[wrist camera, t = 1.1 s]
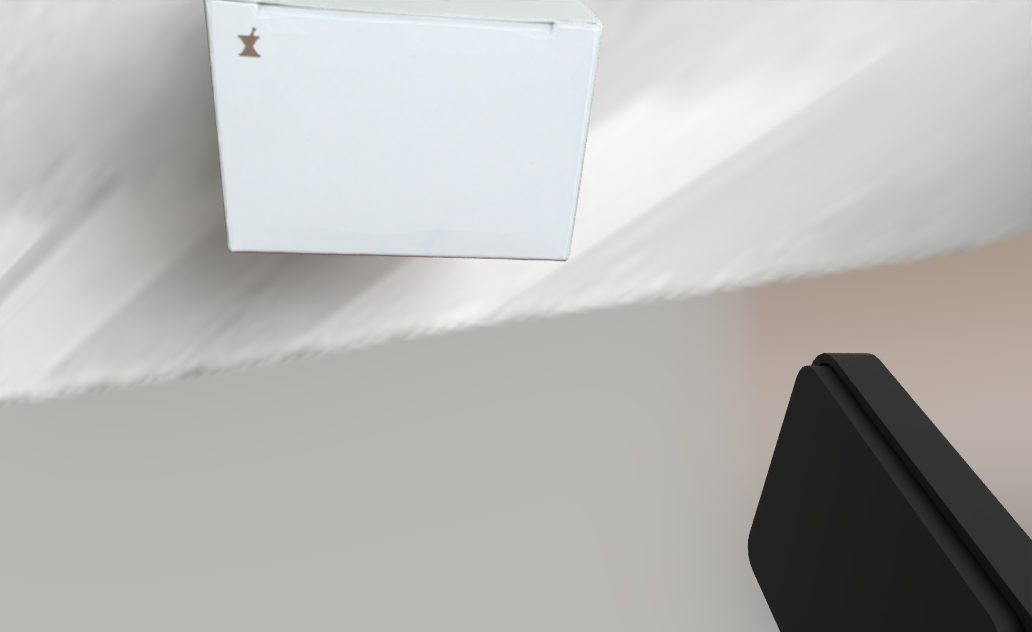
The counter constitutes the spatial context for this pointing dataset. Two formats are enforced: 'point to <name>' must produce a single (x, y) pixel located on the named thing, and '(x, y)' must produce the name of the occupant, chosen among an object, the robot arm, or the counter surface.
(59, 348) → the counter surface
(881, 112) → the counter surface
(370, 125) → the small box
